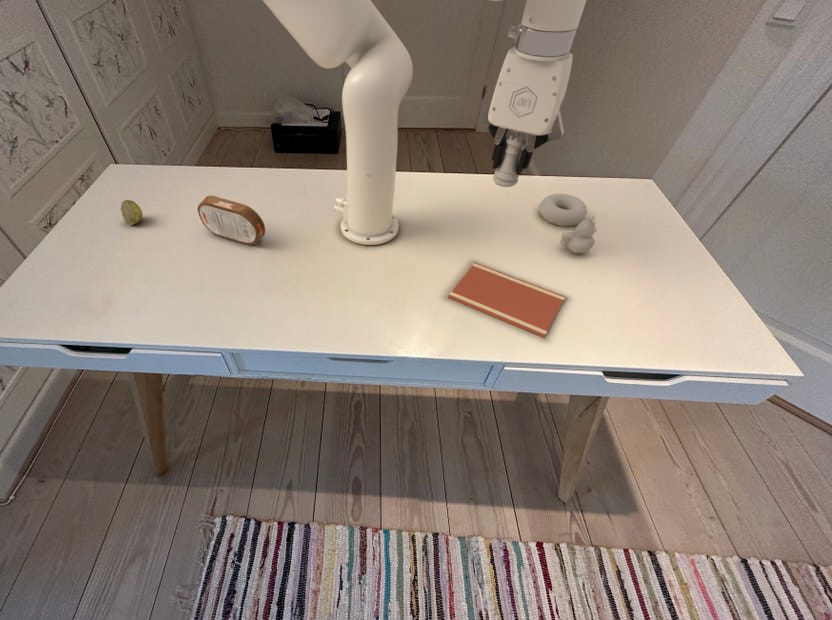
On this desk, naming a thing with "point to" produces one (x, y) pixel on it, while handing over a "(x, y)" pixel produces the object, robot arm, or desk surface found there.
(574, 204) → the donut
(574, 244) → the grey lumpy figurine
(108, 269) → the desk surface
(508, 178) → the rook chess piece
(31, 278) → the desk surface
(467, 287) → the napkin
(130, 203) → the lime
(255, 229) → the tin
